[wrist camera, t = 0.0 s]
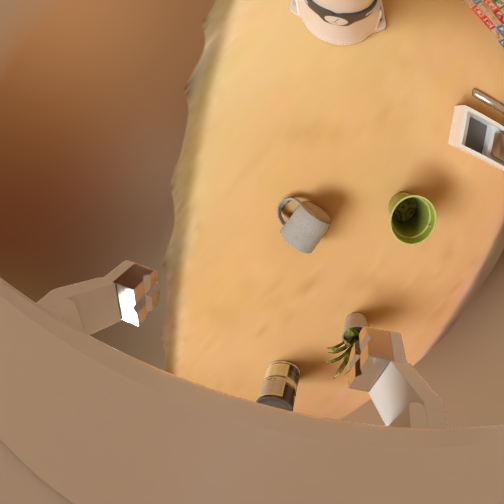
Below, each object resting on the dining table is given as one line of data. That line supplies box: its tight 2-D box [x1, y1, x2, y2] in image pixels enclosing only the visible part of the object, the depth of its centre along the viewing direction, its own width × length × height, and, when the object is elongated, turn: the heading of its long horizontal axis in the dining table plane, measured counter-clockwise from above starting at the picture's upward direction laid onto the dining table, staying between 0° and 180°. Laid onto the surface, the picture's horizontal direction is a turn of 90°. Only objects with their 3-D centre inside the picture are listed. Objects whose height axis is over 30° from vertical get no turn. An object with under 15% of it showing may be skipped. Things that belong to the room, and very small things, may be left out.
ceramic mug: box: [277, 198, 331, 253], centre depth 55 cm, size 11×8×8 cm
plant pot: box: [389, 192, 437, 245], centre depth 48 cm, size 9×9×9 cm
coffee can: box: [257, 361, 300, 411], centre depth 74 cm, size 10×10×14 cm
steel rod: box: [472, 89, 504, 114], centre depth 34 cm, size 14×2×2 cm, turn 82°
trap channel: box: [448, 105, 504, 172], centre depth 37 cm, size 9×24×5 cm, turn 82°
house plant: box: [324, 312, 369, 379], centre depth 59 cm, size 14×14×16 cm
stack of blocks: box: [463, 0, 504, 47], centre depth 19 cm, size 21×6×12 cm, turn 48°
